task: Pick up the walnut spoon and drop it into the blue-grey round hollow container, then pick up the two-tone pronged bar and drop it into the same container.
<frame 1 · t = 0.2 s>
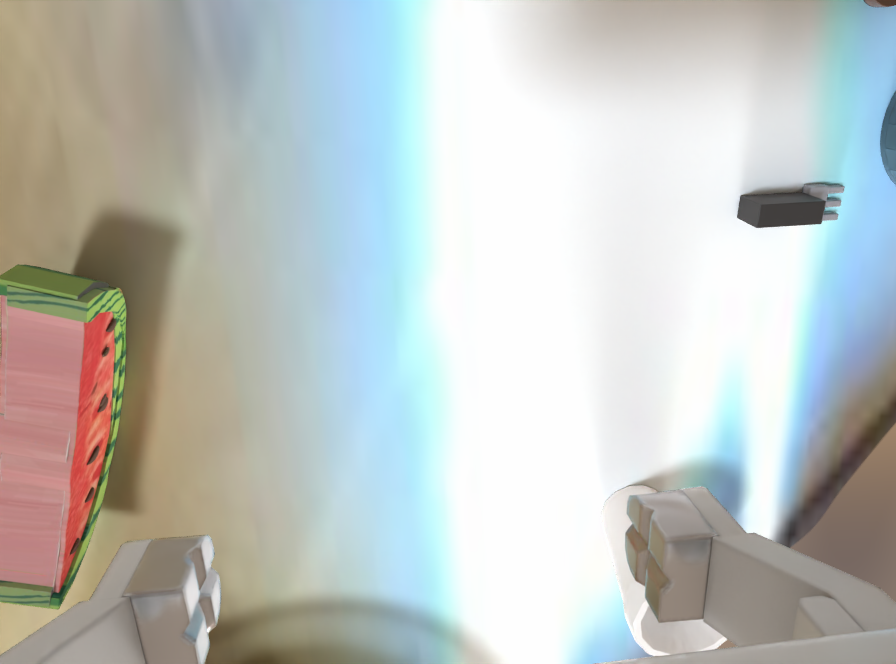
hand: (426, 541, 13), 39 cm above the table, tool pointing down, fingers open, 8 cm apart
foam cup: (631, 509, 64), on the table
fruit slice: (88, 389, 53), on the table
two-tone pronged bar: (786, 203, 52), on the table
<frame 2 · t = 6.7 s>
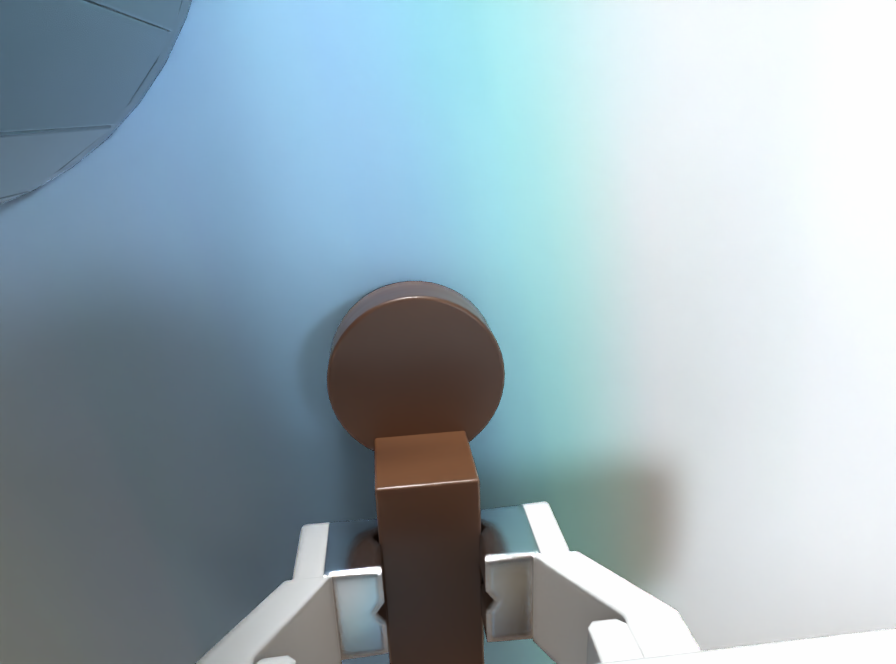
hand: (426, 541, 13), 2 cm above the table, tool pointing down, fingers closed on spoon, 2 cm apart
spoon: (419, 457, 14), on the table, touching gripper
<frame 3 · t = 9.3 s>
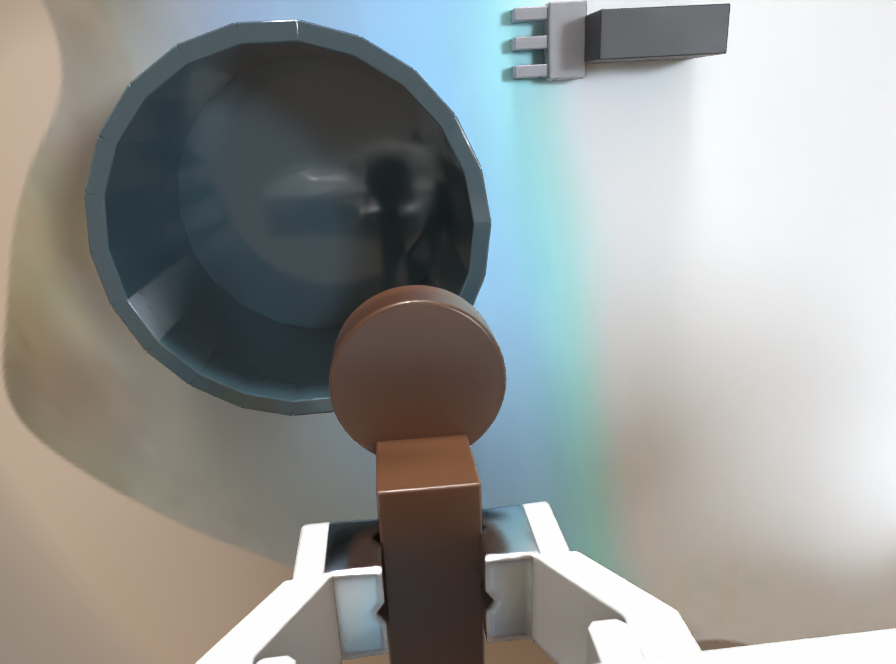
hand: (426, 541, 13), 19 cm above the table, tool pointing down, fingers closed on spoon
blue-grey round hollow container: (317, 200, 29), on the table
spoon: (420, 460, 14), point 17 cm above the table, touching gripper
two-tone pronged bar: (604, 40, 28), on the table
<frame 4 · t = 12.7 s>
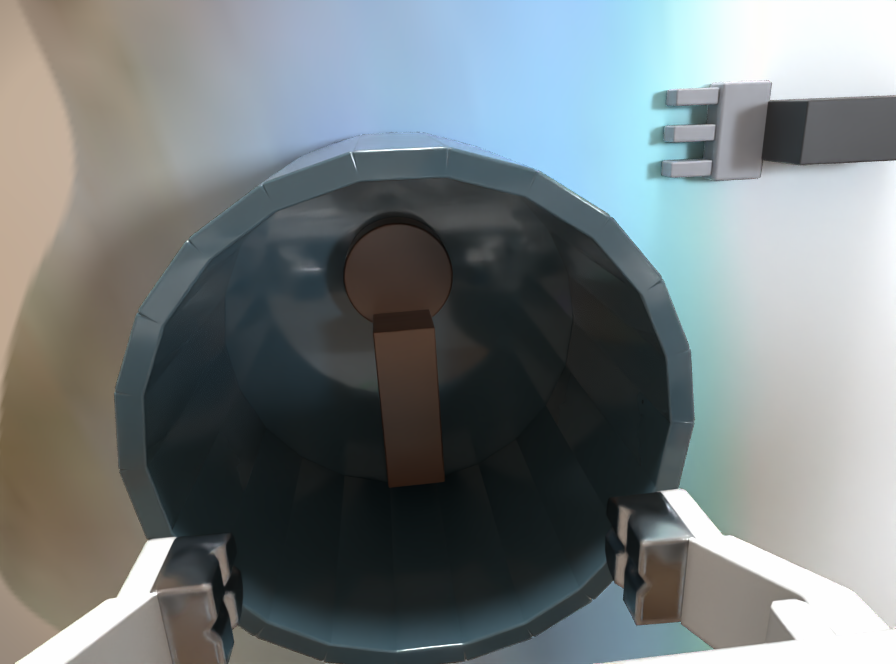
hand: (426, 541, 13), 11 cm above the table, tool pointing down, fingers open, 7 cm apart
blue-grey round hollow container: (402, 325, 23), on the table
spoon: (403, 334, 22), point 1 cm above the table, touching blue-grey round hollow container
two-tone pronged bar: (781, 128, 22), on the table
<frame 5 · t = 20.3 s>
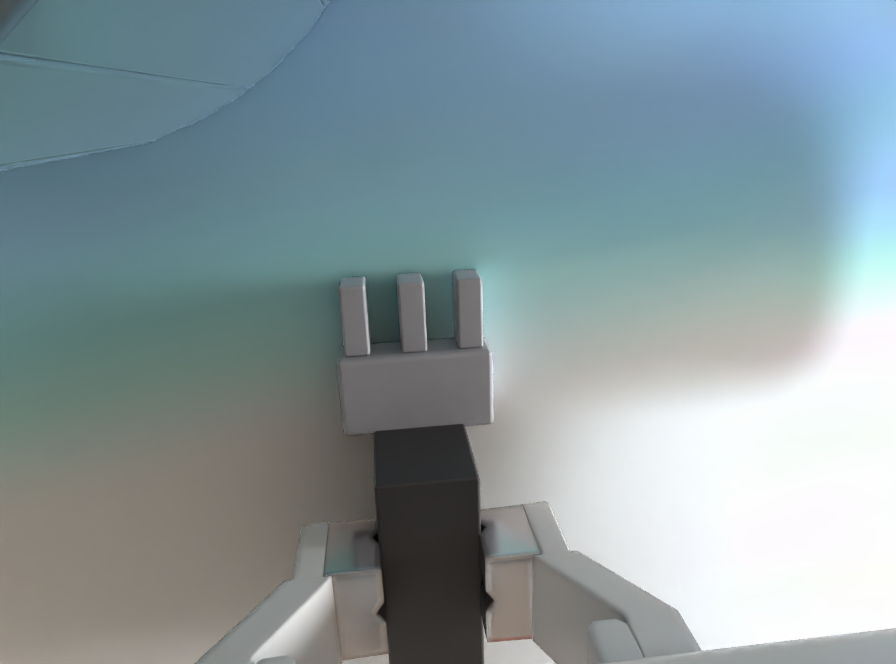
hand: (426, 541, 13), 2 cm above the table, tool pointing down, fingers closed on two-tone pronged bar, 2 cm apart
two-tone pronged bar: (419, 455, 14), on the table, touching gripper
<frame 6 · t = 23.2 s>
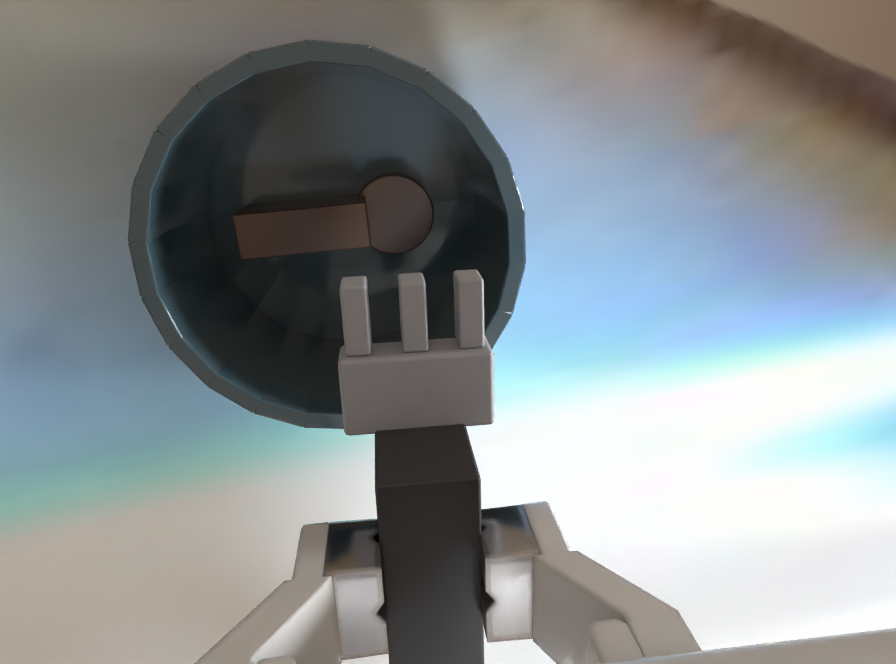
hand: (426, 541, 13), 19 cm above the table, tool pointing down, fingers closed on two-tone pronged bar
blue-grey round hollow container: (345, 214, 29), on the table
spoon: (341, 216, 29), point 1 cm above the table, touching blue-grey round hollow container
two-tone pronged bar: (420, 455, 14), point 17 cm above the table, touching gripper
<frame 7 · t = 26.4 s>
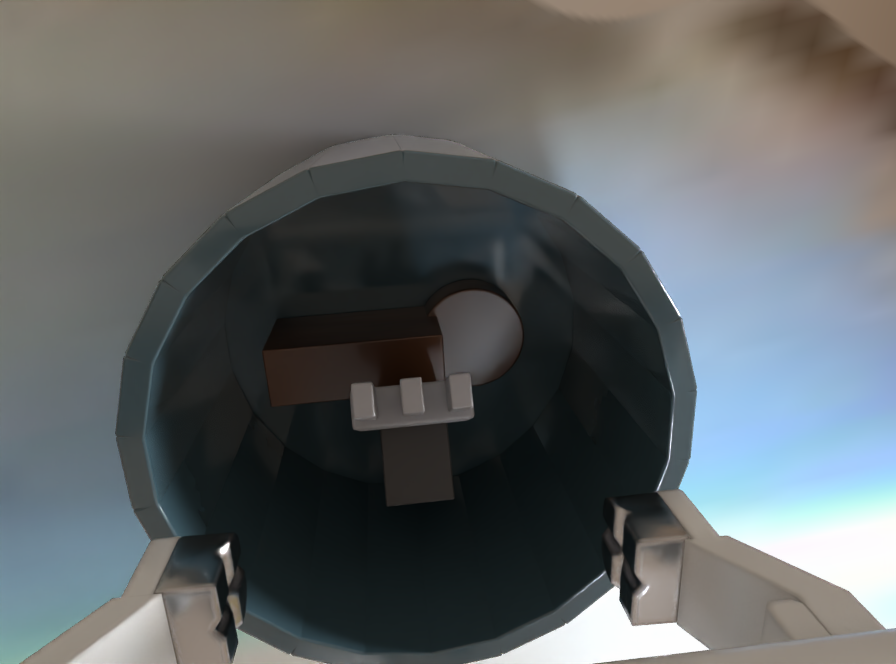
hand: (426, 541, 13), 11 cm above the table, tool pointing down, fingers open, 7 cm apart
blue-grey round hollow container: (403, 328, 23), on the table
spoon: (400, 333, 22), point 1 cm above the table, touching blue-grey round hollow container, two-tone pronged bar
two-tone pronged bar: (410, 392, 19), point 4 cm above the table, tilted 61°, touching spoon
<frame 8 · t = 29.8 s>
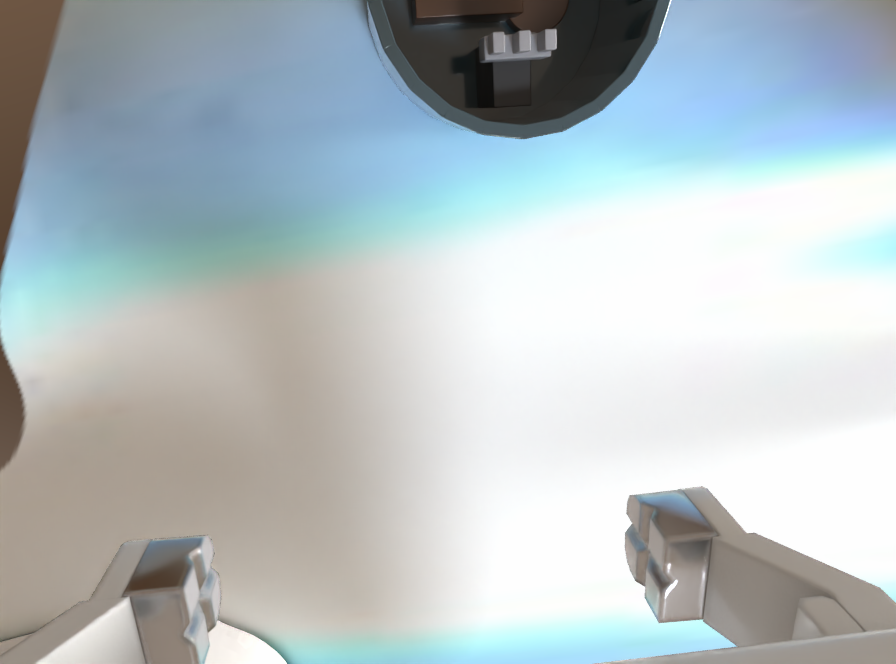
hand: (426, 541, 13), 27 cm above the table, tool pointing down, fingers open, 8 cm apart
blue-grey round hollow container: (488, 5, 34), on the table
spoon: (488, 2, 34), point 1 cm above the table, touching blue-grey round hollow container
two-tone pronged bar: (506, 39, 31), point 5 cm above the table, tilted 90°, touching blue-grey round hollow container
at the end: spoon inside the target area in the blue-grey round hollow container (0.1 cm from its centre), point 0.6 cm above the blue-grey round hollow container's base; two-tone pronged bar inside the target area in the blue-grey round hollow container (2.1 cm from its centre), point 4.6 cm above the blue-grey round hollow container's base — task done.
